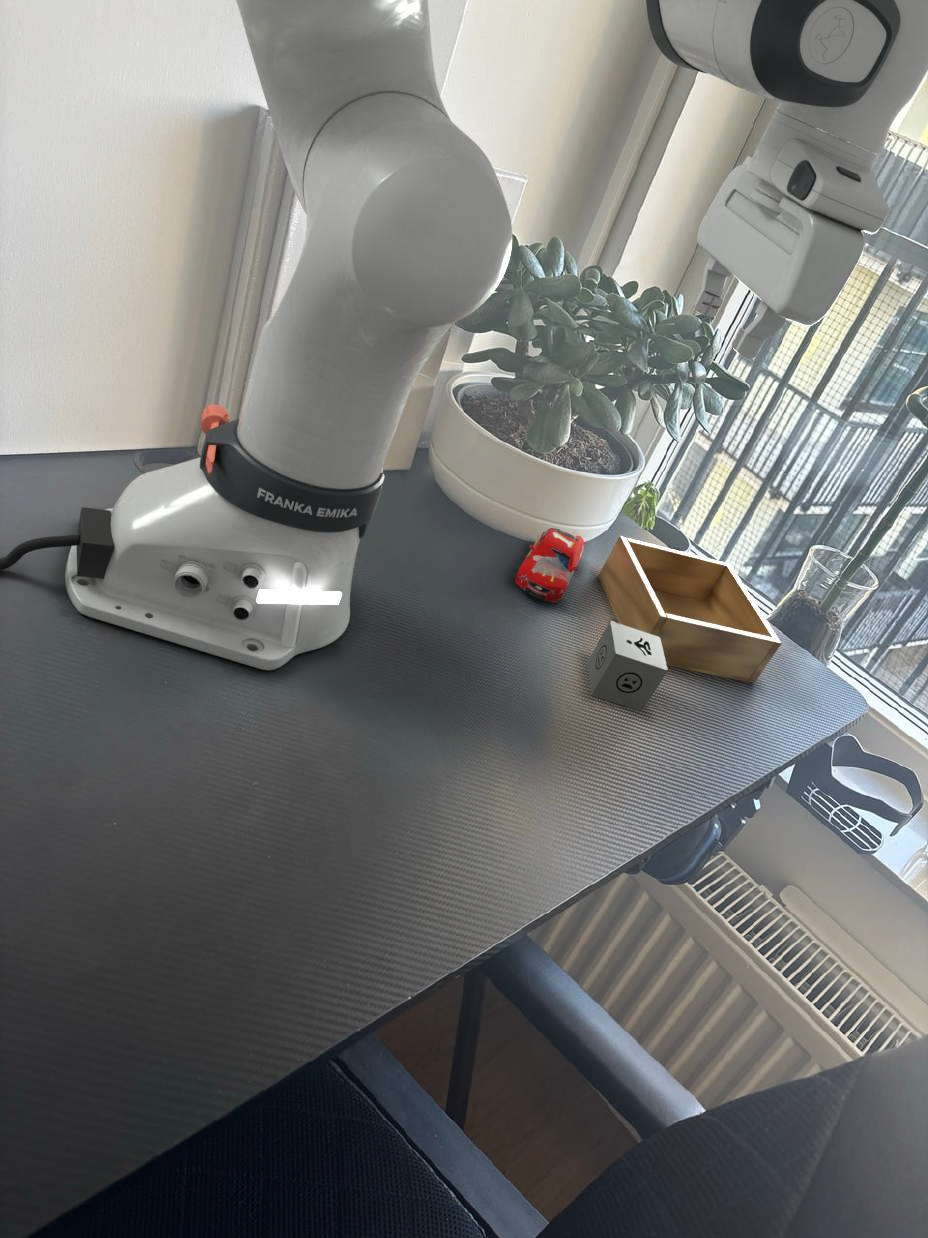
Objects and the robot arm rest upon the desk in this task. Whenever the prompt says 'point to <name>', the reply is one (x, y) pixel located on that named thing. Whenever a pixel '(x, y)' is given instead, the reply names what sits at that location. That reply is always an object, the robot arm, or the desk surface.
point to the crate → (689, 609)
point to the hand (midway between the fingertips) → (721, 332)
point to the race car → (550, 564)
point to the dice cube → (626, 666)
